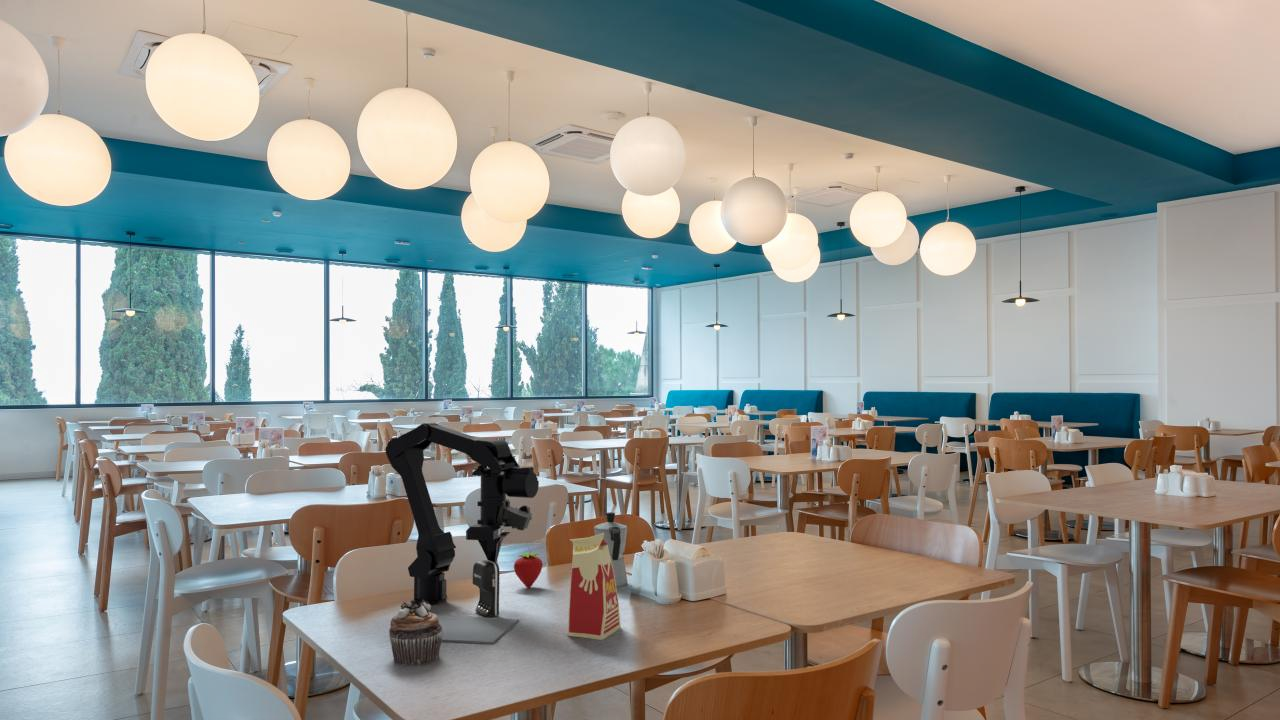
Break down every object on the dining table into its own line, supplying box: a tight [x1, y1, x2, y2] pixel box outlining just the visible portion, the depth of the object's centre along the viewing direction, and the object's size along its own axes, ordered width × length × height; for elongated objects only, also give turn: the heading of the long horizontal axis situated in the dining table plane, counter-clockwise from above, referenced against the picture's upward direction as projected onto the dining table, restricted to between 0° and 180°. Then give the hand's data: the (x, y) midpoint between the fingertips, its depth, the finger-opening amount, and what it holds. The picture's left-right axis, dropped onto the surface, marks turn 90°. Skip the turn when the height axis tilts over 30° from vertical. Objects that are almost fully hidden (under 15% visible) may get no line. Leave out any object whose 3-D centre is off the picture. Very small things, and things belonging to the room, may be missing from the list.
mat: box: [437, 615, 520, 645], centre depth 165 cm, size 18×16×1 cm
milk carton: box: [567, 533, 622, 641], centre depth 164 cm, size 9×9×20 cm
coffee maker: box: [593, 511, 629, 588], centre depth 204 cm, size 15×9×18 cm, turn 14°
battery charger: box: [472, 559, 500, 618], centre depth 177 cm, size 7×4×11 cm, turn 36°
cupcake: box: [388, 600, 444, 666], centre depth 148 cm, size 10×10×10 cm
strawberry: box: [513, 546, 544, 588], centre depth 201 cm, size 6×8×10 cm
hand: (493, 565), depth 182 cm, fingers closed
